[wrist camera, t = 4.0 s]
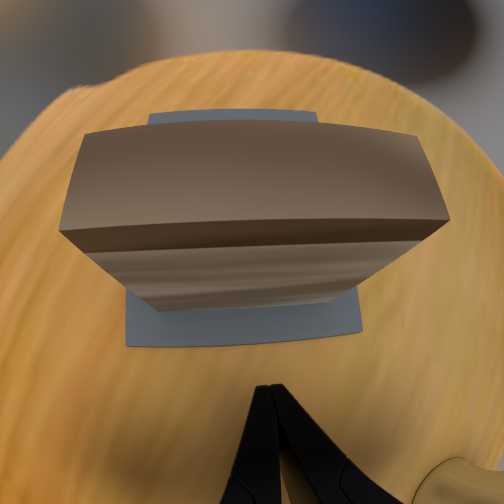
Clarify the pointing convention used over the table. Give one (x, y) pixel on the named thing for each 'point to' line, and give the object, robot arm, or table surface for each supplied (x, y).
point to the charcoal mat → (238, 320)
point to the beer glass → (461, 485)
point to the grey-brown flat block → (248, 209)
